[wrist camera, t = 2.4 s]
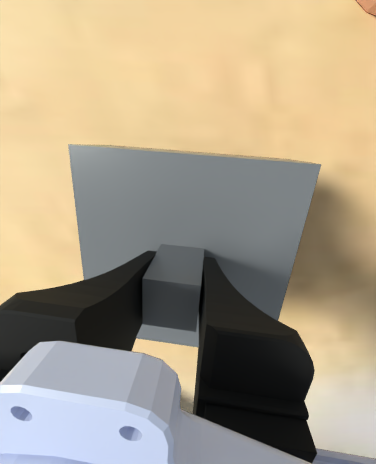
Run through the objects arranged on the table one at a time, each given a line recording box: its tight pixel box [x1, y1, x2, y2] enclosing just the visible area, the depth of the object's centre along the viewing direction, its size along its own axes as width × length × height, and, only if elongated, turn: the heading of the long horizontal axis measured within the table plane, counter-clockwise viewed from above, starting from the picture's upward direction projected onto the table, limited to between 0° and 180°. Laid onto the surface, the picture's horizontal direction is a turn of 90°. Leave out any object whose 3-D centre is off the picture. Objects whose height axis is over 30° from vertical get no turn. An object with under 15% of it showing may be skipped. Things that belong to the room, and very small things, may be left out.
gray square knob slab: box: [68, 144, 321, 347], centre depth 13 cm, size 12×12×8 cm
